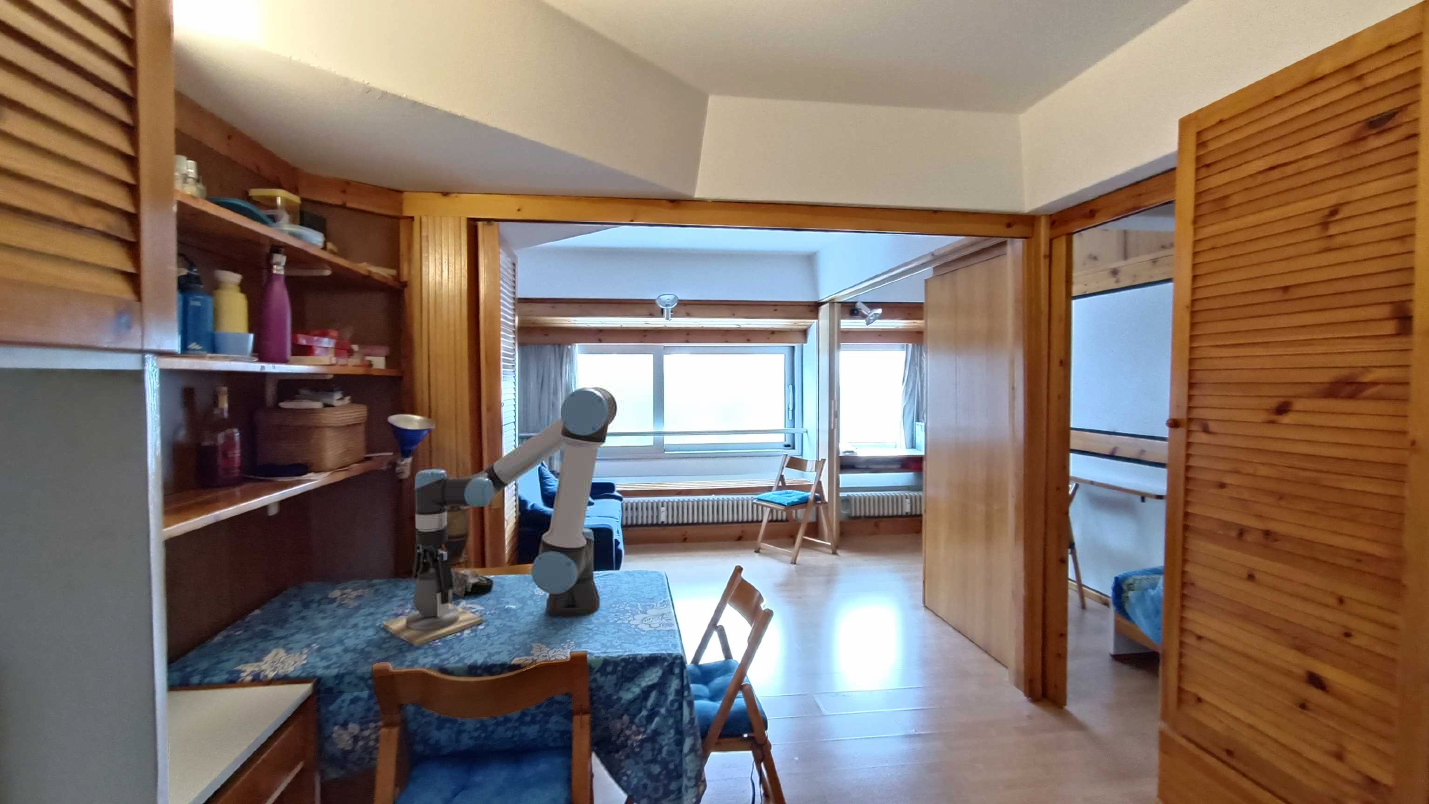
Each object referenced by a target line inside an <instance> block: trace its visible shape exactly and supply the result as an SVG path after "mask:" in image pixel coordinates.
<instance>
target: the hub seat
mask: <svg viewBox="0 0 1429 804" xmlns="http://www.w3.org/2000/svg"><path fill="white" fill-rule="evenodd" d="M483 621H484V620H483V617H481V616H478V615H476V614H474V613H472V612H469V611H467V610H464V609H463V608H460V607H458V606H456V605H454V604H451V602H450V603H449V614H446V615H443V616H440V617H438V616H437V615H435V616H423V615H421V614H420V613H419V611H418V610H416V611H415V612H413V613H411V614H407V615H405V616H401V617H398V618H394V619H393V620H388V621H385V622H383V623H382V628H383V629H384V630H386V631H388V632H390V633H392V634H394V635H395V636H397V637H399V638H401V639H402V640H404V641H405V642H407V643H409V644H411V645H413V646H415V647H419V646H422V645H425V644H426V643H429V642H432V641H435V640H437V639H440V638H443V637H446V636H449V635H452V634H455V633H457V632H461V631H464V630H465V629H469V628H472V627H474V626H475V627H476V626H478V625H480V624H482V623H483Z"/></svg>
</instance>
